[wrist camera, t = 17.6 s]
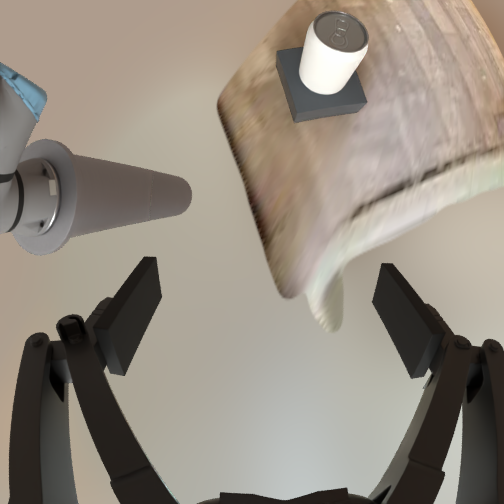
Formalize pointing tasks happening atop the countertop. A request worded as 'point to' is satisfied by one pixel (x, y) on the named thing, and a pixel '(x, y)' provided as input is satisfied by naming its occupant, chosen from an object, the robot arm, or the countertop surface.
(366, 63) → the countertop surface
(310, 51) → the can
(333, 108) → the grey block
